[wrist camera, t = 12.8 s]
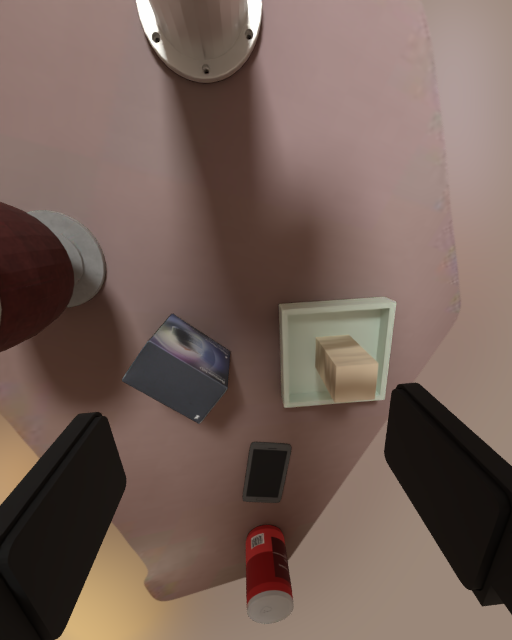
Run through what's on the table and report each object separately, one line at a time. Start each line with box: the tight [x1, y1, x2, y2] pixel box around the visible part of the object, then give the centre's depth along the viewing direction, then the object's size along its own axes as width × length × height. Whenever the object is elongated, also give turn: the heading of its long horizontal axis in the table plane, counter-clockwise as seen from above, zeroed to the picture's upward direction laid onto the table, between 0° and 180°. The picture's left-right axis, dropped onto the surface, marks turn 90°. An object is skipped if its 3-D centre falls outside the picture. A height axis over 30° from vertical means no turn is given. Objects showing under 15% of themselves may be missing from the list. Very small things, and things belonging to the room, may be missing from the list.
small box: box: [122, 314, 230, 424], centre depth 35 cm, size 11×6×10 cm, turn 53°
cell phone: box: [243, 442, 291, 503], centre depth 49 cm, size 7×14×1 cm, turn 173°
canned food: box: [246, 525, 293, 624], centre depth 49 cm, size 8×8×11 cm
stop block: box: [315, 335, 379, 403], centre depth 36 cm, size 5×5×9 cm
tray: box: [279, 297, 396, 408], centre depth 40 cm, size 16×16×3 cm
